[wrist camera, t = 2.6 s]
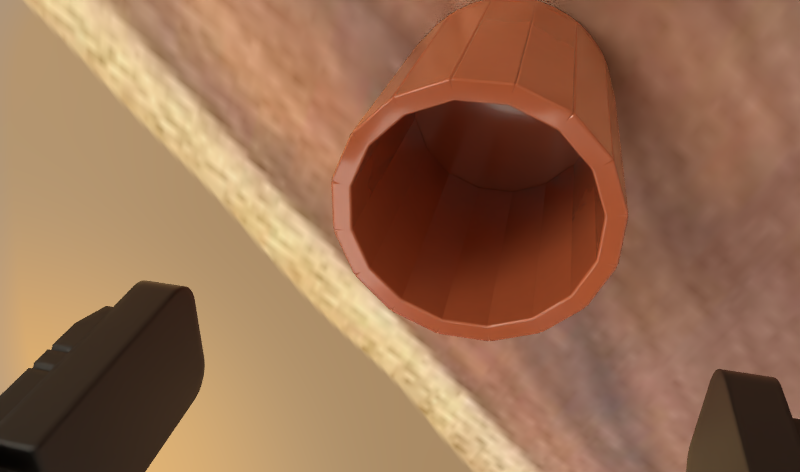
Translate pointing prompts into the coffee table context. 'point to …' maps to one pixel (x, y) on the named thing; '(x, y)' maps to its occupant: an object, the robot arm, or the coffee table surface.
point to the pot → (487, 176)
